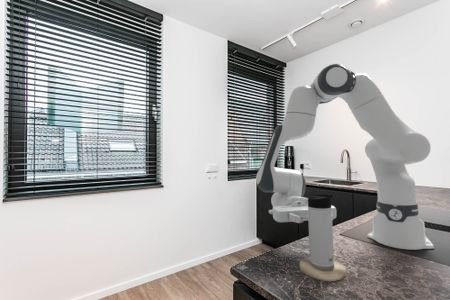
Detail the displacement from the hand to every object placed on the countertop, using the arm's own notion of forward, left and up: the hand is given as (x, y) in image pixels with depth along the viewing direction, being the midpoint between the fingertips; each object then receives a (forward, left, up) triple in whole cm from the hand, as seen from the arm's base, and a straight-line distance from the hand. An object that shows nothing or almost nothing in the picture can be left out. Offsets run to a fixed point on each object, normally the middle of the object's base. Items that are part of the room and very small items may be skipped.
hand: (315, 219), depth 67 cm
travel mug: (+1, +2, -13) cm, 13 cm away
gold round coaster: (+2, +2, -13) cm, 14 cm away
